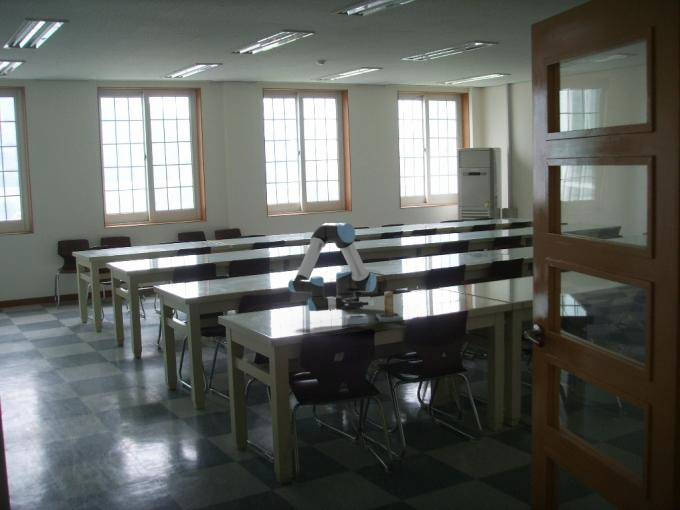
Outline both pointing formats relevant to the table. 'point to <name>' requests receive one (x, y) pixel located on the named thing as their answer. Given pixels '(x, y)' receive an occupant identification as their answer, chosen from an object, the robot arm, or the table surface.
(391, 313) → the dowel
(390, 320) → the tray
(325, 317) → the table surface
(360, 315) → the socket block
